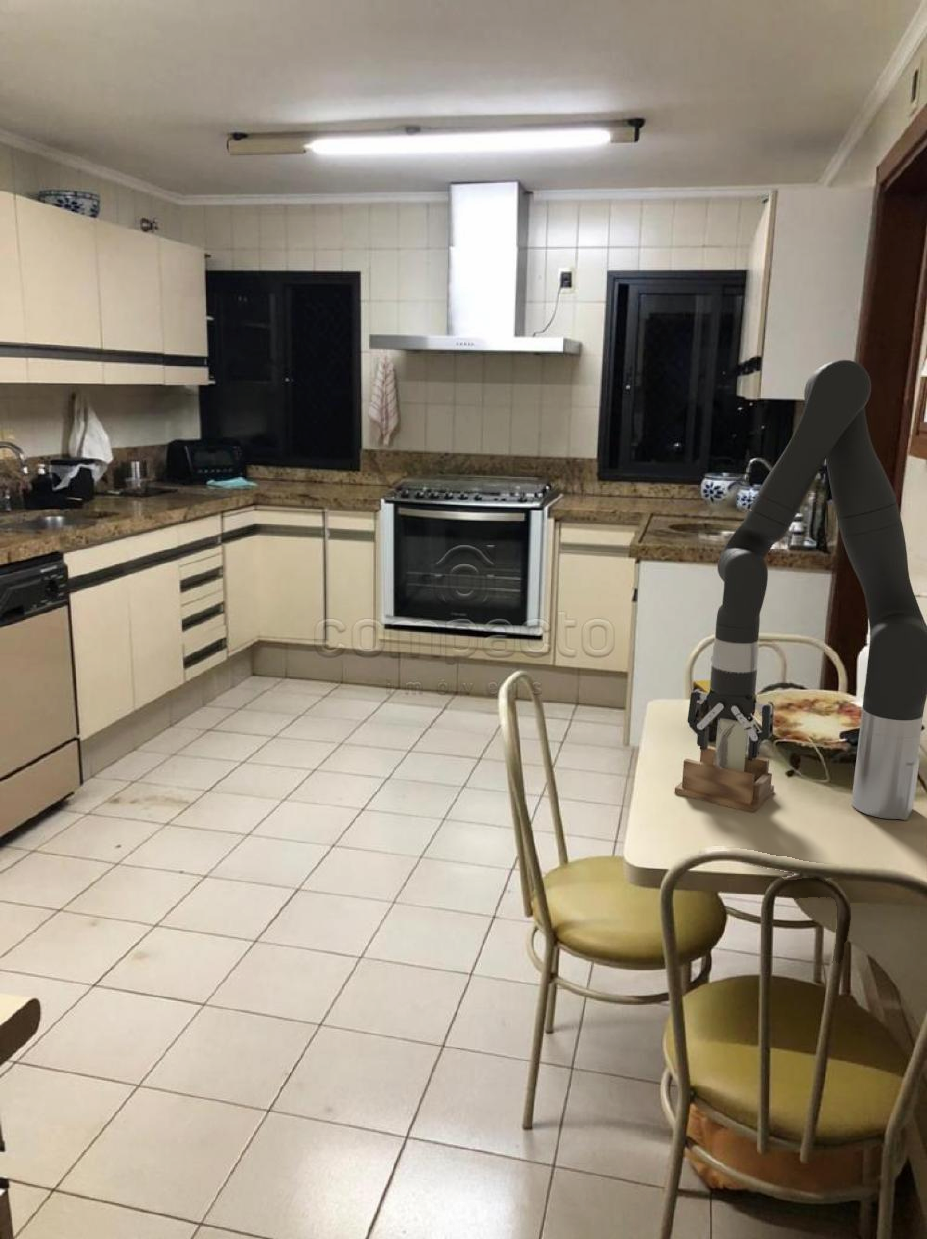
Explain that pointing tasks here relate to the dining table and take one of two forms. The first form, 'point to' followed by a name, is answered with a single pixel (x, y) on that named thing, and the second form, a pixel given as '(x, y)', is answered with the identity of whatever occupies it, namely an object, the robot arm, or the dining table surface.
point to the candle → (708, 709)
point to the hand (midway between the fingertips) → (727, 754)
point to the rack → (726, 782)
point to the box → (730, 744)
